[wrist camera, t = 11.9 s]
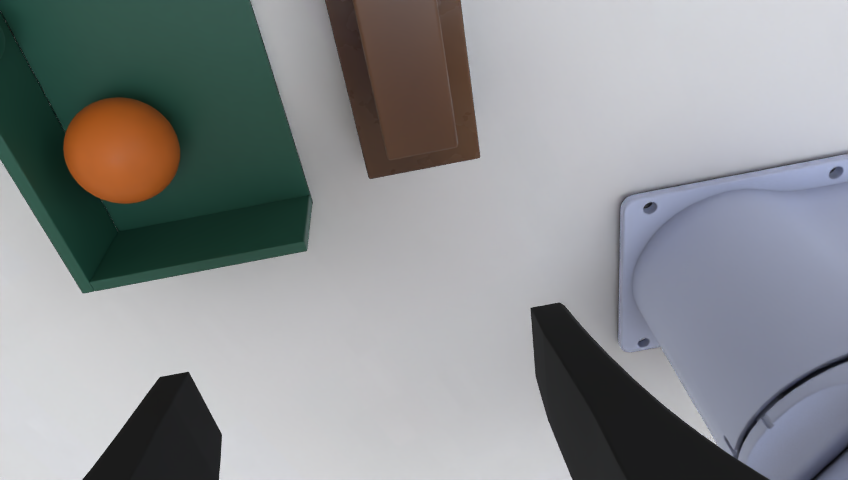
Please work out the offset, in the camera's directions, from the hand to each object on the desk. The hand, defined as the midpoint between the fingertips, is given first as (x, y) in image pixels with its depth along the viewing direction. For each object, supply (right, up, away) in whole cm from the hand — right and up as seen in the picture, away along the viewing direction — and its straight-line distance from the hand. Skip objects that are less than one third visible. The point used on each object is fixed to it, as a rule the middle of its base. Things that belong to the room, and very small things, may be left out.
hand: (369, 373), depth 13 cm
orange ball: (-8, +6, +6) cm, 11 cm away
